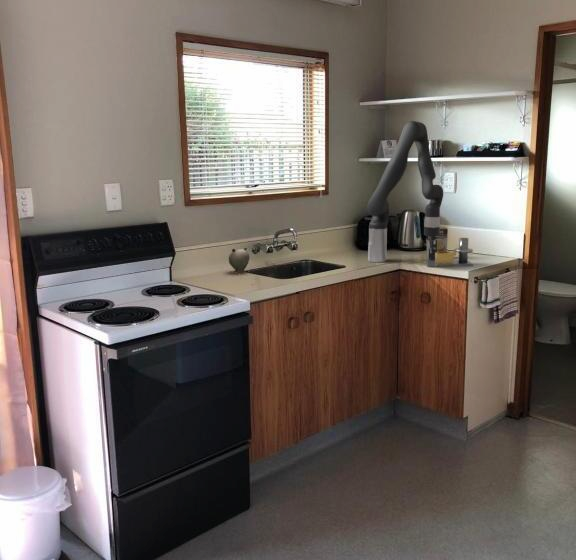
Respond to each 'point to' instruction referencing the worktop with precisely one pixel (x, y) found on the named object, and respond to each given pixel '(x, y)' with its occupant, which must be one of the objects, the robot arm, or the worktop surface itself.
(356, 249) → the worktop surface
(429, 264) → the grey square beam
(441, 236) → the coffee box
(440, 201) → the robot arm
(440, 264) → the rosette stand
